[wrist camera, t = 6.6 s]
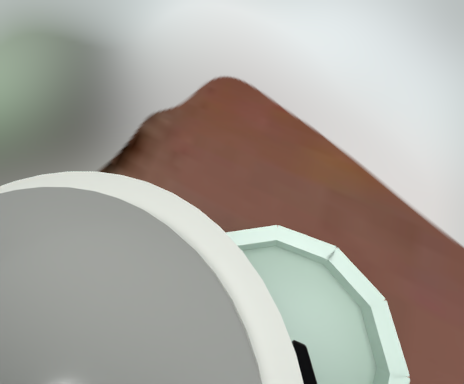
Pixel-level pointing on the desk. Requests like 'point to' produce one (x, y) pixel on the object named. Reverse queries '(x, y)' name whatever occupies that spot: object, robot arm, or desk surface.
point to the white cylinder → (129, 290)
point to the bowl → (327, 306)
